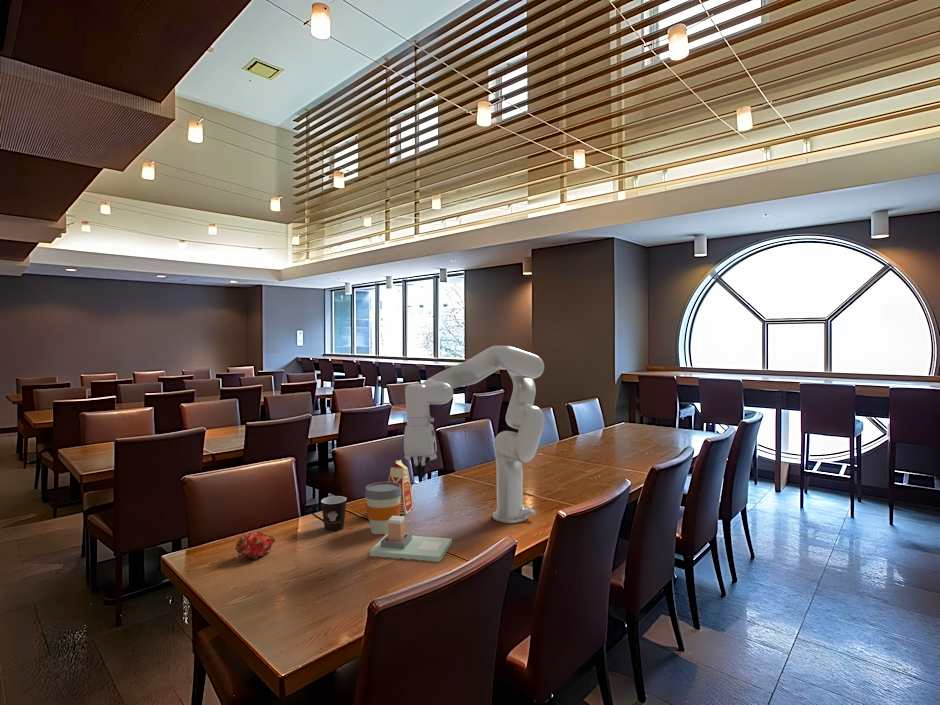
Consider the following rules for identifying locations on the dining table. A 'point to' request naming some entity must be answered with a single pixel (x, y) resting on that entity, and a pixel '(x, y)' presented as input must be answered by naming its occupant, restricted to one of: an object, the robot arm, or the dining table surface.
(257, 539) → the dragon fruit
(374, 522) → the reusable coffee cup
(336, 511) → the coffee mug
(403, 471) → the milk carton
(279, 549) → the dining table surface
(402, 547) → the board
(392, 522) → the tan upright block
